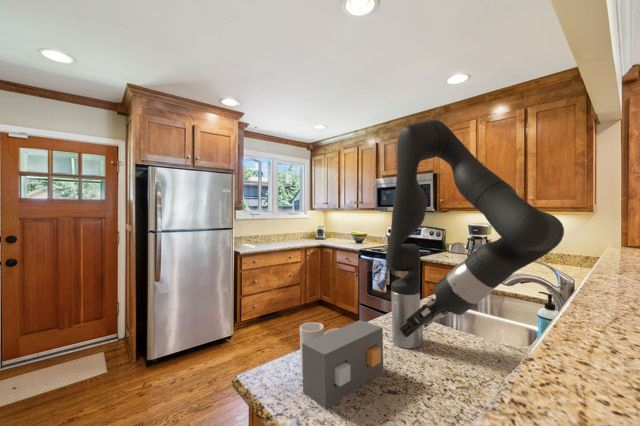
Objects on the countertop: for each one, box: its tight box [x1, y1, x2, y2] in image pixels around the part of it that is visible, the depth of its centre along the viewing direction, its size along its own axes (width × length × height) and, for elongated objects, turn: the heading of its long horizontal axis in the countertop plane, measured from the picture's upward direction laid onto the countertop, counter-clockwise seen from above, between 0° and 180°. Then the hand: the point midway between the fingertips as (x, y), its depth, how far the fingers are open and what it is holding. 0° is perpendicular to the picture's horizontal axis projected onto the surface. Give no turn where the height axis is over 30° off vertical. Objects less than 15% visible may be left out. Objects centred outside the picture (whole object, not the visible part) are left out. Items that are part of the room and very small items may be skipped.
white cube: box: [333, 362, 350, 386], centre depth 67 cm, size 4×4×4 cm
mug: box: [299, 321, 325, 373], centre depth 81 cm, size 10×7×12 cm, turn 24°
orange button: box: [366, 346, 381, 367], centre depth 75 cm, size 4×4×4 cm
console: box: [302, 319, 384, 409], centre depth 73 cm, size 22×8×12 cm, turn 132°
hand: (413, 327), depth 65 cm, fingers open, 8 cm apart
